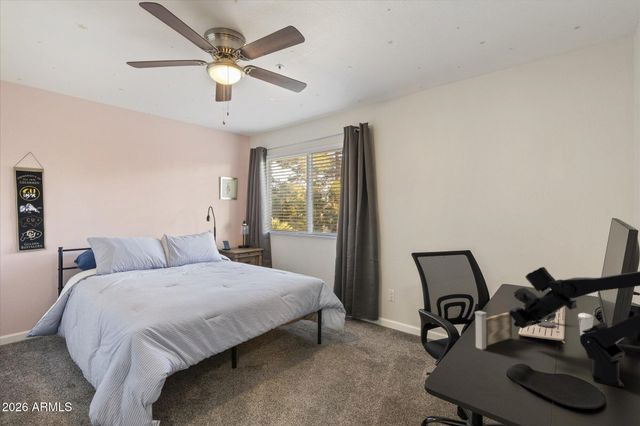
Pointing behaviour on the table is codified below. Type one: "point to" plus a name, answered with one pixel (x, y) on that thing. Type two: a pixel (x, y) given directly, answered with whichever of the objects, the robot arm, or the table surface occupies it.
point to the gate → (498, 328)
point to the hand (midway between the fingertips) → (515, 325)
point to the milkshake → (585, 321)
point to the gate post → (480, 329)
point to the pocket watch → (547, 322)
